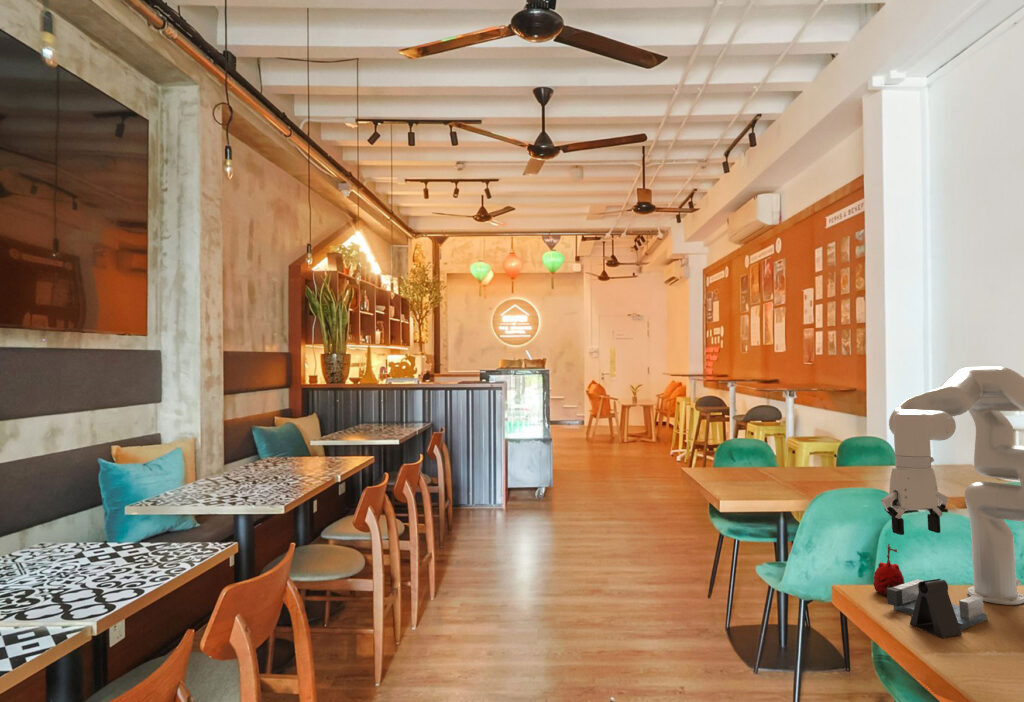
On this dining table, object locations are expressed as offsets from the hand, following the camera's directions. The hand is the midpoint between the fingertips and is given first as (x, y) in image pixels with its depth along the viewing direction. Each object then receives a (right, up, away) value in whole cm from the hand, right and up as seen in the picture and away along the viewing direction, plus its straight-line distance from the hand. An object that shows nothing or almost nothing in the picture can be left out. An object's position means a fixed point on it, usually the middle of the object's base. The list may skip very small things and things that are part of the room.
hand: (916, 532), depth 156 cm
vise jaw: (+7, -23, +15) cm, 28 cm away
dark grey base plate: (+12, -24, +9) cm, 28 cm away
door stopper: (+5, -24, 0) cm, 25 cm away
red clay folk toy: (+8, -25, +25) cm, 36 cm away
